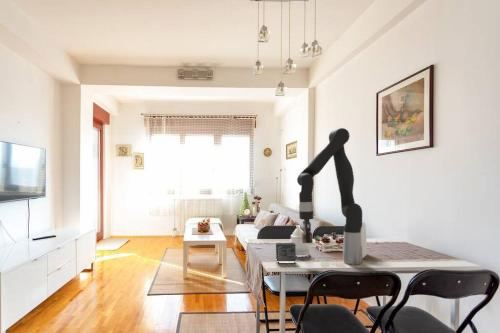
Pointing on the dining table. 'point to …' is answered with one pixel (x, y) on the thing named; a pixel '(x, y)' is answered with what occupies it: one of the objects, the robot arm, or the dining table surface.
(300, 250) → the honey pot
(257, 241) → the dining table surface
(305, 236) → the walnut cube
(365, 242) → the milk
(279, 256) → the small box
